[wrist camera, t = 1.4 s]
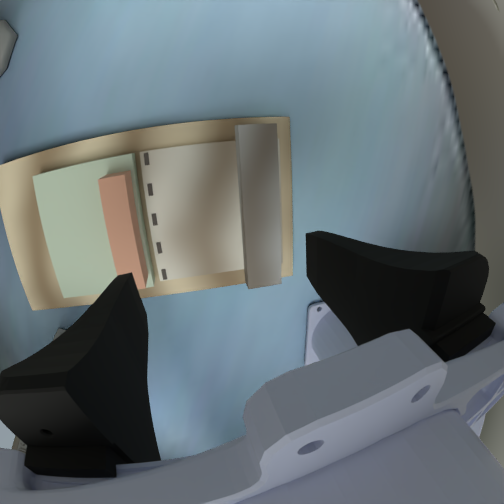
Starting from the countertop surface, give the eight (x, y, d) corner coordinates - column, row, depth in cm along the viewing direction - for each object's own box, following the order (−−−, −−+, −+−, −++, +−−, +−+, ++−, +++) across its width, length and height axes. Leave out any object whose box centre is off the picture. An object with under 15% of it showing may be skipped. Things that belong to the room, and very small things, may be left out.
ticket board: (282, 117, 20) (299, 115, 17) (286, 267, 25) (300, 286, 22) (3, 164, 16) (-20, 171, 13) (38, 301, 21) (24, 322, 18)
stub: (134, 152, 17) (125, 156, 14) (155, 278, 21) (152, 301, 18) (39, 173, 16) (18, 181, 13) (68, 290, 19) (55, 312, 17)
